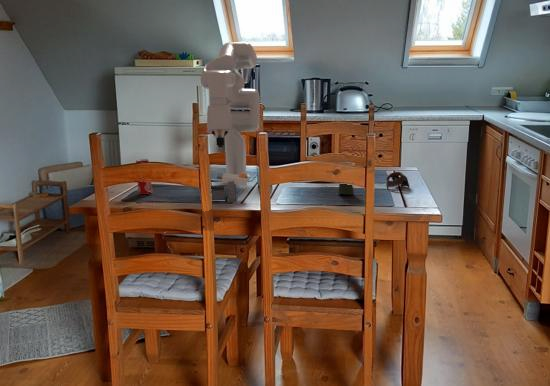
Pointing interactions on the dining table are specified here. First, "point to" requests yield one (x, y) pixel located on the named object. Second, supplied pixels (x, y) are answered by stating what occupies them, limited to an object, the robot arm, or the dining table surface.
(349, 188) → the character mug
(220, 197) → the cup
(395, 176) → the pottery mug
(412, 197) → the dining table surface
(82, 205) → the dining table surface
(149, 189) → the beverage can
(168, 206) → the dining table surface
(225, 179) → the seesaw trough
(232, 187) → the catapult stand
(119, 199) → the dining table surface
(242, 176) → the ball
